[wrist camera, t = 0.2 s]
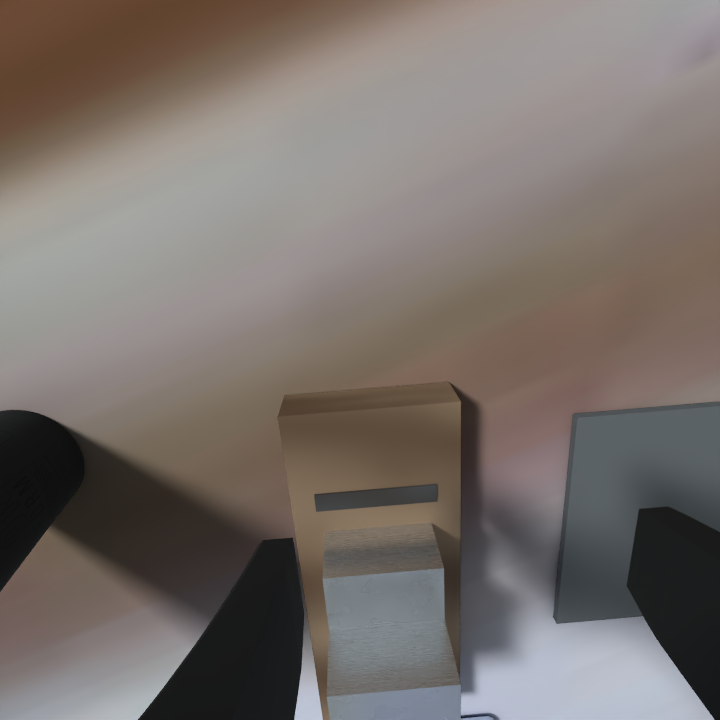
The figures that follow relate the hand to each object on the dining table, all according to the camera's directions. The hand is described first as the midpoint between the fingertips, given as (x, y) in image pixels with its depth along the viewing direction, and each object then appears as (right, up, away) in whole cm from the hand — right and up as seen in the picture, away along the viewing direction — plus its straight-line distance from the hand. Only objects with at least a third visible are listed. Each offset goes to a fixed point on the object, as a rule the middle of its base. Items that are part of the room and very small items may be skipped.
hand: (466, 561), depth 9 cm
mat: (+13, -3, +12) cm, 18 cm away
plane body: (-1, -6, +12) cm, 14 cm away
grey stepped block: (-1, -6, +11) cm, 12 cm away
